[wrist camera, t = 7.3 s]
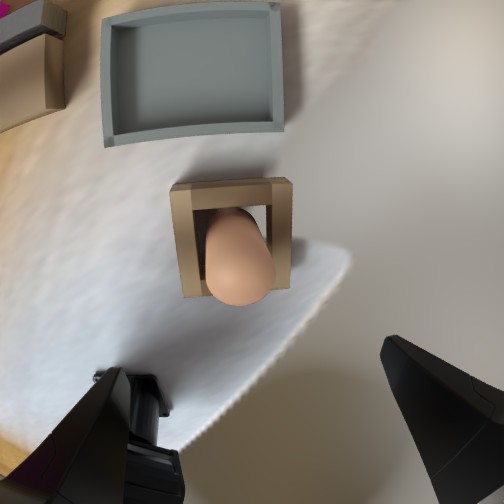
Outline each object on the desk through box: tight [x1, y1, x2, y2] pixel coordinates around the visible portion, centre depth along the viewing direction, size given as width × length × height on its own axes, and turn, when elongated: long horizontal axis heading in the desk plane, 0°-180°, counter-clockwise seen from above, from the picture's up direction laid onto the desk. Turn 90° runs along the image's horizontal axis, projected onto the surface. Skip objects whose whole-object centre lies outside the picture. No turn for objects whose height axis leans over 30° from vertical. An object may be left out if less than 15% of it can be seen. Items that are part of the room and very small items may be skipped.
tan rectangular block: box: [0, 33, 65, 133], centre depth 12 cm, size 5×8×3 cm, turn 93°
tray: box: [100, 1, 284, 148], centre depth 14 cm, size 8×10×2 cm
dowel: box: [206, 207, 276, 306], centre depth 17 cm, size 3×3×6 cm
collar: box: [169, 177, 292, 298], centre depth 19 cm, size 7×7×2 cm
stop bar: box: [0, 0, 67, 55], centre depth 10 cm, size 2×7×4 cm, turn 92°
